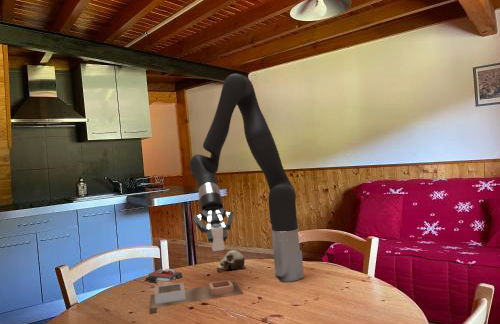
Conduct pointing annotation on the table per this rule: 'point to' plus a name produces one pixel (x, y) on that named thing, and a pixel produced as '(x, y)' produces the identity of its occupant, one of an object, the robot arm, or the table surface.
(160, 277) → the walkie-talkie
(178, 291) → the frame
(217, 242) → the plug
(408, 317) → the table surface
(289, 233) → the robot arm
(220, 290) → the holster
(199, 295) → the panel
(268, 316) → the table surface
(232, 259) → the skull
